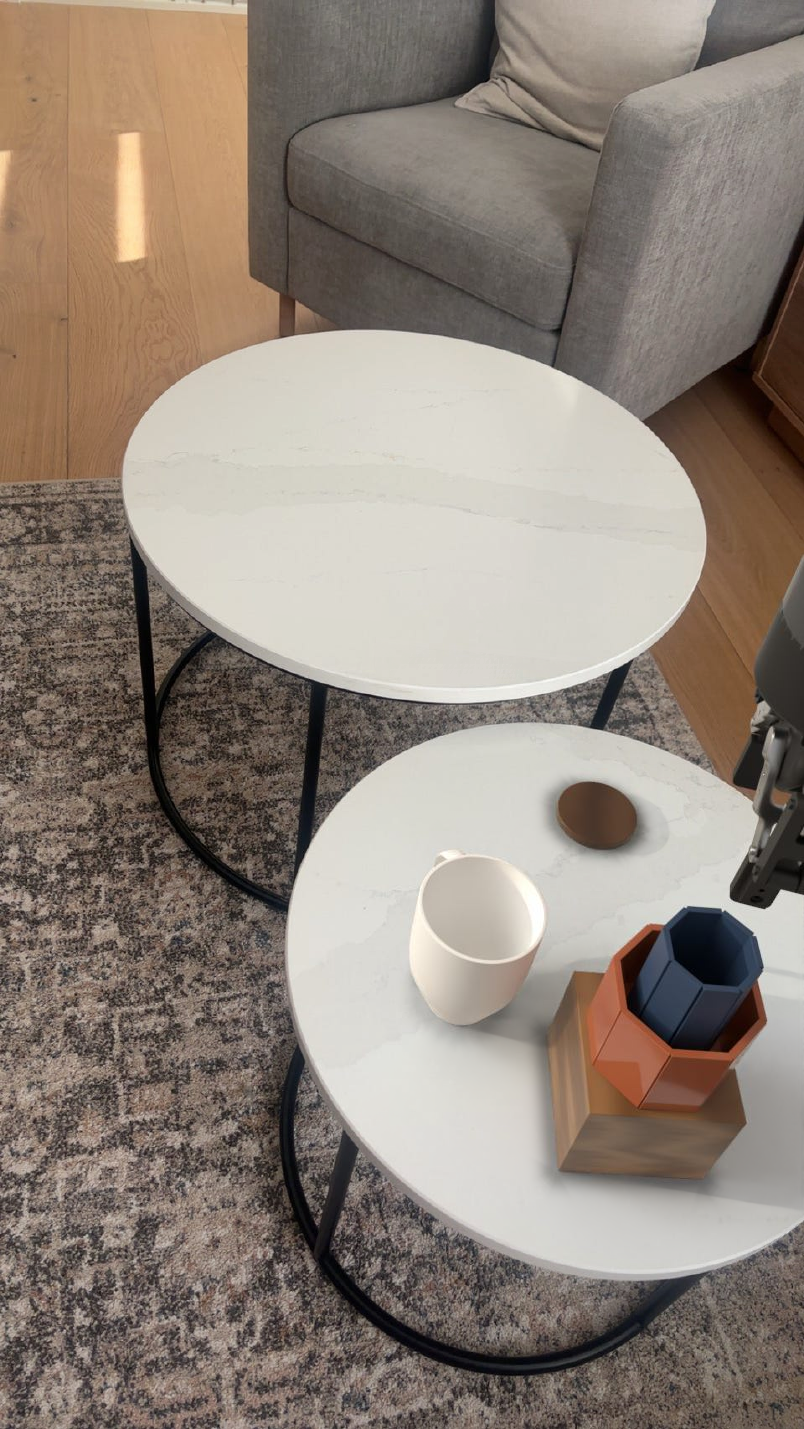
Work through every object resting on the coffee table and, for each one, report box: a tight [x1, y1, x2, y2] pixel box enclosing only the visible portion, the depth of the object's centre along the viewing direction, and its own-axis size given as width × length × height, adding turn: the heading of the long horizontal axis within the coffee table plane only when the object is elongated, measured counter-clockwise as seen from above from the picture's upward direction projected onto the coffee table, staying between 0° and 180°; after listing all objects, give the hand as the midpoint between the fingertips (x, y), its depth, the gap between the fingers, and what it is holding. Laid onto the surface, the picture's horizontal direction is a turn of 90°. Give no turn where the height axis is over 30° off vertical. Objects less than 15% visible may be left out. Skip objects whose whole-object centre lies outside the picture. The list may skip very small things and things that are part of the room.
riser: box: [546, 970, 747, 1180], centre depth 74 cm, size 10×10×9 cm
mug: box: [408, 849, 548, 1026], centre depth 78 cm, size 12×9×12 cm
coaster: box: [555, 781, 638, 851], centre depth 95 cm, size 7×7×1 cm
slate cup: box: [626, 905, 765, 1051], centre depth 66 cm, size 6×6×11 cm
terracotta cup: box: [586, 923, 768, 1112], centre depth 68 cm, size 9×9×7 cm
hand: (748, 839), depth 61 cm, fingers open, 8 cm apart
